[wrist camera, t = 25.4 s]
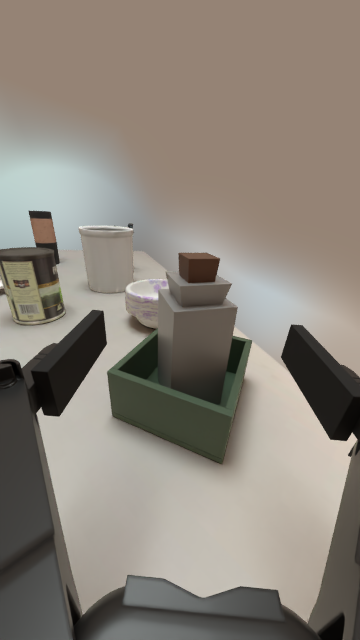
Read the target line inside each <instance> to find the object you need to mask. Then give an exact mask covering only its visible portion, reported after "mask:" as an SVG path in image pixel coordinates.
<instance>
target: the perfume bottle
mask: <svg viewBox="0 0 360 640" xmlns="http://www.w3.org/2000/svg"><path fill="white" fill-rule="evenodd" d="M219 261H220V258H217V257H215V256H213V255H210V254H208V253H179V271H177V272H166V276H167V281H168V285H169V289H158V381H159V384H160V385H162V386H165V387H168V388H171V389H173V390H176V391H179V392H182V393H185V394H188V395H190V396H193V397H196V398H199V399H202V400H205V401H207V402H210V403H213V404H216V405H218V404H220V403H221V397H222V392H223V386H224V381H225V375H226V369H227V364H228V358H229V353H230V347H231V342H232V336H233V330H234V325H235V319H236V314H237V308H238V307H237V306H235V305H234V304H233V303H231V302H230V301H229V300H227V299H226V295H227V293H228V291H229V289H230V287H231V285H232V284H231V283H229V282H228V281H226V280H224V279H223V278H221V277H219V276H218V275H217V270H218V266H219Z"/></svg>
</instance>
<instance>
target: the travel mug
mask: <svg viewBox="0 0 360 640" xmlns="http://www.w3.org/2000/svg"><path fill="white" fill-rule="evenodd" d="M29 215H30V220H31V225H32V229H33V234H34V239H35V243H36V247H37V248H48V249H52V250H54V258H55V263H56V264H58V263H59V255H58V249H57V242H56V237H55V232H54V227H53V222H52V217H51V212H46V211H29Z"/></svg>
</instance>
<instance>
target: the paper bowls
mask: <svg viewBox="0 0 360 640" xmlns="http://www.w3.org/2000/svg"><path fill="white" fill-rule="evenodd" d="M158 289H169V285H168V281H167V280H164V279H149V280H140V281H136V282H133V283H130V284H129V285H127V286H126V288H125V293H126V298H125V299H126V310H127V311H128V313H129V314H131V315H133V316H135V317H136V318H137V319H138V321H139V322H140V323H141V324H143V325H145V326H147V327H150V328H156V329H157V328H158Z"/></svg>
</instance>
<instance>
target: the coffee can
mask: <svg viewBox="0 0 360 640" xmlns="http://www.w3.org/2000/svg"><path fill="white" fill-rule="evenodd" d="M0 277H1V280H2V283H3V286H4V290H5V293H6V296H7V299H8V302H9V306H10V309H11V312H12V315H13V320H14V321H15V322H16V323H19V324H24V325H35V324H42V323H47V322H51V321H54V320H56V319H58V318H60V317H62V316H63V315H64V314H65V309H64V304H63V299H62V294H61V289H60V283H59V278H58V273H57V268H56V263H55V258H54V250H52V249H48V248H35V247H27V248H26V247H25V248H10V249H2V250H0Z"/></svg>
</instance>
